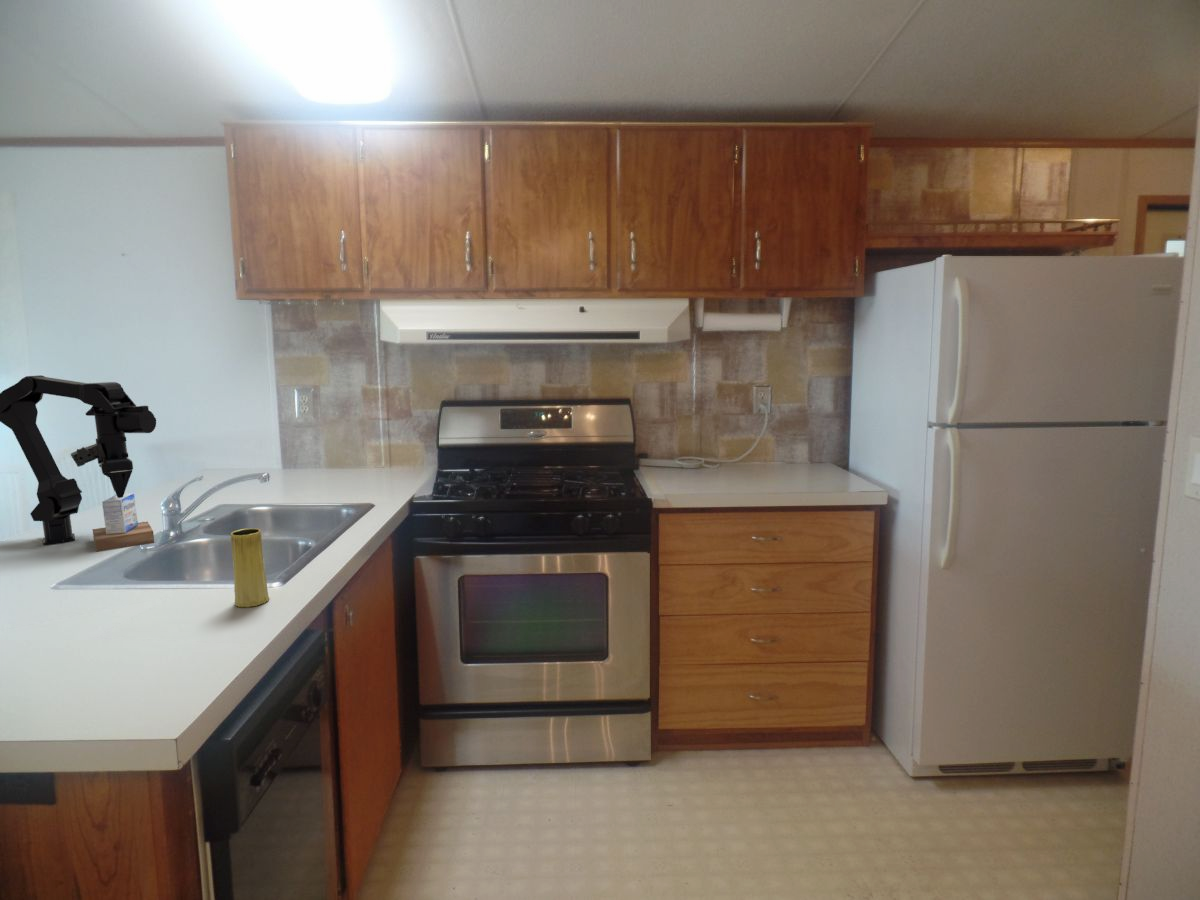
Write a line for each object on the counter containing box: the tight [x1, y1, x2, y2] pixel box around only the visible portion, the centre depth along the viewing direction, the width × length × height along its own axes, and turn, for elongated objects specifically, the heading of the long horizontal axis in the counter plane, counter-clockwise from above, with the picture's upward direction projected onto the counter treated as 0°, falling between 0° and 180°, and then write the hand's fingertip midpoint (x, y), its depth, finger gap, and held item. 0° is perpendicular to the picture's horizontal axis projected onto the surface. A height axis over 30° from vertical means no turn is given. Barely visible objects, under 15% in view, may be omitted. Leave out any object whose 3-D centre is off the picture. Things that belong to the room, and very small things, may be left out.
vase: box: [230, 527, 270, 608], centre depth 137 cm, size 6×6×14 cm
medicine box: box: [101, 493, 139, 534], centre depth 178 cm, size 8×4×9 cm, turn 13°
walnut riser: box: [92, 521, 155, 553], centre depth 179 cm, size 12×12×3 cm
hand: (118, 494), depth 178 cm, fingers open, 9 cm apart
